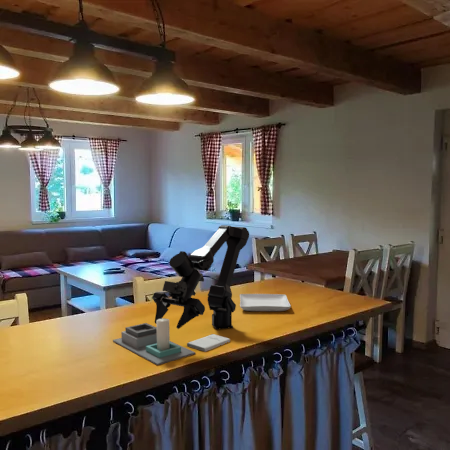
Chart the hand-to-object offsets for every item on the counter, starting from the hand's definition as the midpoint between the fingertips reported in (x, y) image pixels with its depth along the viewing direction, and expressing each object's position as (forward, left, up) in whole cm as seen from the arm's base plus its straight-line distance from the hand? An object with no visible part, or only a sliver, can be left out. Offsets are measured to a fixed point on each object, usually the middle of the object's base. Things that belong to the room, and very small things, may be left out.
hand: (166, 325), depth 149 cm
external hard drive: (-15, -3, -9) cm, 18 cm away
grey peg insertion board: (+4, -5, -8) cm, 10 cm away
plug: (+1, +1, -8) cm, 8 cm away
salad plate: (-51, -41, -9) cm, 66 cm away
